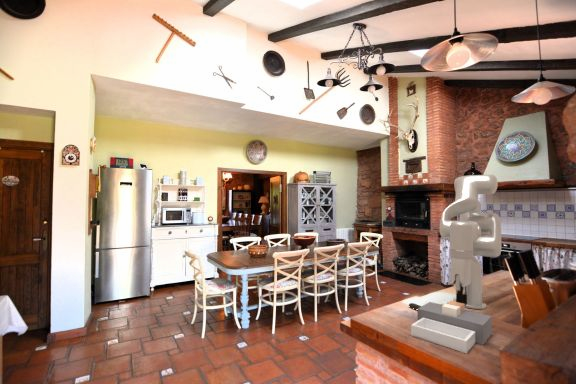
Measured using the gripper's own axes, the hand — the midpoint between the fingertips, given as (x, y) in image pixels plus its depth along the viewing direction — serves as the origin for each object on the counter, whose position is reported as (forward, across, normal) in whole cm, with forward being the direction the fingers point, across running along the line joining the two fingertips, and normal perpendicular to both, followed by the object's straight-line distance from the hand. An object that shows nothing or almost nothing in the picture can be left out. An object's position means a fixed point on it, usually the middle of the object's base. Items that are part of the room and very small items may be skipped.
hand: (461, 304), depth 110 cm
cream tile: (+1, +12, 0) cm, 12 cm away
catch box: (+7, +21, 0) cm, 22 cm away
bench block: (+7, +10, 0) cm, 12 cm away
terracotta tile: (+1, +7, 0) cm, 7 cm away
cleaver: (+7, -3, -6) cm, 10 cm away
